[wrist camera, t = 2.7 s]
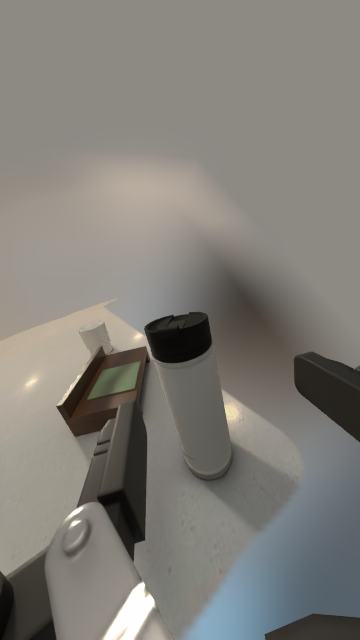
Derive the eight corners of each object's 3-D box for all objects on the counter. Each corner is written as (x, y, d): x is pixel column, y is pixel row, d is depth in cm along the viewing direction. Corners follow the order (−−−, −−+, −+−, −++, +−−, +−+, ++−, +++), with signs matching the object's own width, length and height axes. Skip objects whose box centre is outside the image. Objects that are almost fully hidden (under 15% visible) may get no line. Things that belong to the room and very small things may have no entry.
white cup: (115, 344, 65) (105, 318, 61) (112, 354, 57) (101, 326, 54) (93, 350, 64) (81, 324, 60) (87, 362, 56) (73, 333, 53)
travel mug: (181, 482, 22) (129, 335, 15) (188, 430, 28) (153, 308, 21) (235, 486, 20) (206, 325, 13) (230, 430, 26) (208, 299, 19)
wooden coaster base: (149, 358, 50) (142, 336, 48) (141, 420, 31) (129, 389, 29) (107, 368, 50) (98, 346, 48) (74, 436, 31) (56, 406, 29)
